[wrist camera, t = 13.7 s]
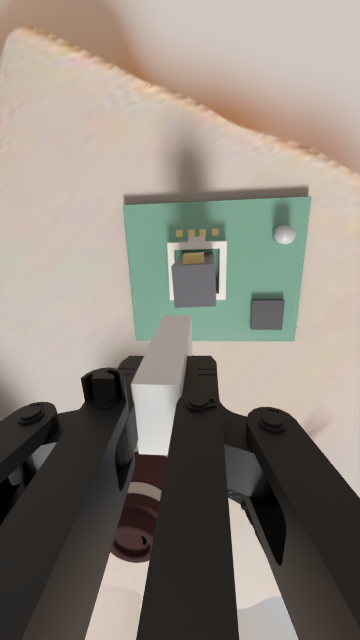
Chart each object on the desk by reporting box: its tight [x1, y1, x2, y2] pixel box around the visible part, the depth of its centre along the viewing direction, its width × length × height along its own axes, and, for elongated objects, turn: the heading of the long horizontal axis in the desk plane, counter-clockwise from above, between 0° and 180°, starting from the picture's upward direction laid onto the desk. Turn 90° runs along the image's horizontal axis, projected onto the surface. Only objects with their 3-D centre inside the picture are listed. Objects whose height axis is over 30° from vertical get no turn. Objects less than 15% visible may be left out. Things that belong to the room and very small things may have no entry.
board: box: [123, 196, 311, 341], centre depth 34 cm, size 22×18×3 cm
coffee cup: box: [110, 443, 168, 563], centre depth 39 cm, size 10×10×15 cm
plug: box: [171, 252, 216, 308], centre depth 30 cm, size 4×5×10 cm
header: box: [167, 236, 227, 300], centre depth 33 cm, size 7×8×2 cm
